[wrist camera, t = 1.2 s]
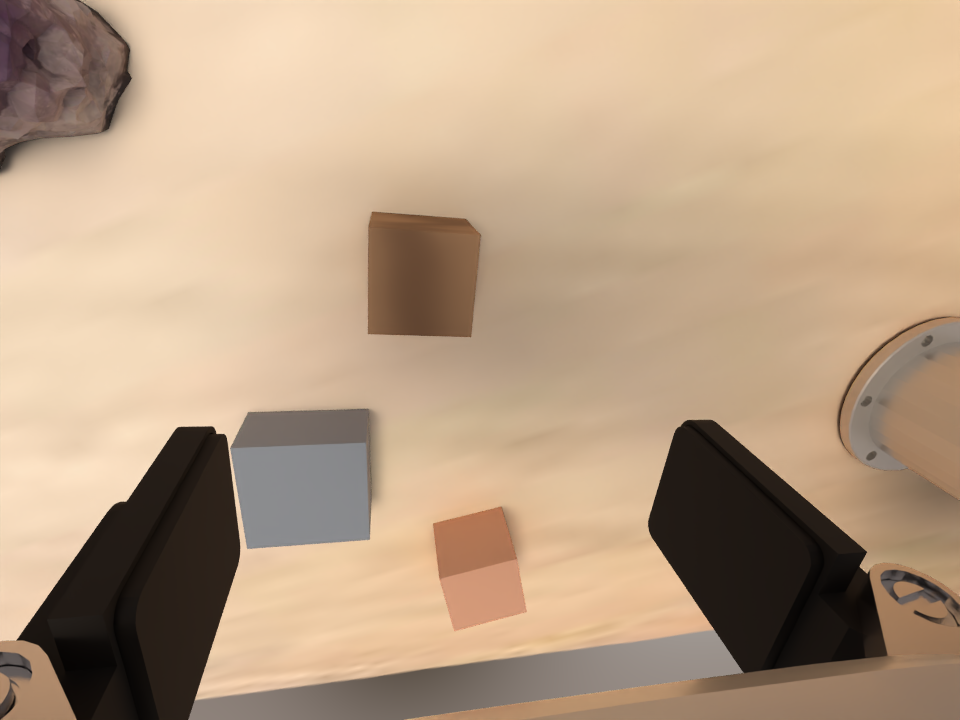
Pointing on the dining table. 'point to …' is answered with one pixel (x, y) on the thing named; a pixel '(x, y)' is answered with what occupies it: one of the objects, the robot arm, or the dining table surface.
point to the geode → (57, 70)
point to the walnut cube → (421, 275)
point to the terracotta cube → (478, 569)
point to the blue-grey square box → (303, 477)
